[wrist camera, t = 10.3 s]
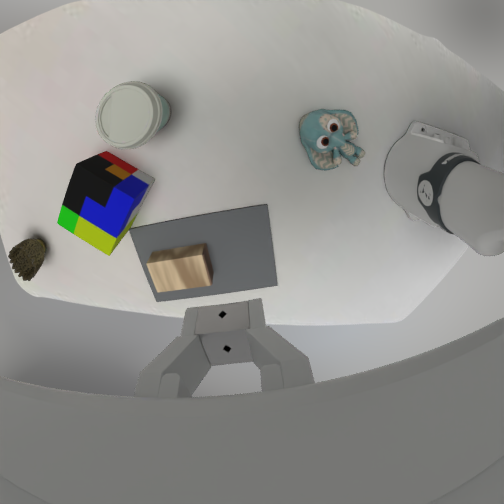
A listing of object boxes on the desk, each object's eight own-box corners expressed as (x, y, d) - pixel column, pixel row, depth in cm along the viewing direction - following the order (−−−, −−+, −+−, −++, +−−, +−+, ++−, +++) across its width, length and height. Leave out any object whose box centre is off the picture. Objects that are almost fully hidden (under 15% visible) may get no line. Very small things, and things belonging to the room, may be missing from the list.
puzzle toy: (155, 179, 41) (134, 199, 33) (130, 227, 45) (109, 256, 36) (106, 150, 38) (76, 163, 29) (86, 200, 42) (57, 223, 33)
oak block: (203, 254, 43) (146, 263, 44) (212, 285, 46) (157, 292, 46) (206, 243, 47) (152, 251, 47) (213, 272, 50) (162, 279, 50)
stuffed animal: (357, 196, 39) (295, 158, 34) (335, 179, 45) (278, 146, 39) (392, 139, 35) (336, 91, 29) (366, 129, 40) (313, 88, 35)
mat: (266, 204, 44) (267, 204, 44) (277, 284, 52) (277, 285, 52) (129, 228, 45) (129, 229, 45) (157, 300, 53) (156, 301, 52)
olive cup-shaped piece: (40, 223, 43) (18, 241, 36) (59, 252, 46) (39, 273, 39) (24, 238, 44) (3, 256, 37) (42, 265, 47) (23, 285, 40)
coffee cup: (148, 77, 33) (117, 67, 23) (190, 105, 36) (173, 103, 26) (117, 122, 36) (79, 129, 26) (158, 150, 39) (130, 165, 29)
